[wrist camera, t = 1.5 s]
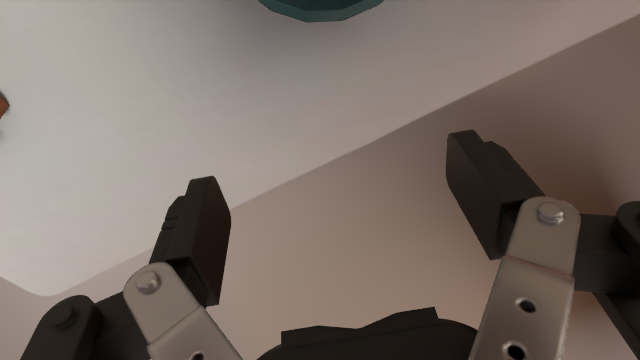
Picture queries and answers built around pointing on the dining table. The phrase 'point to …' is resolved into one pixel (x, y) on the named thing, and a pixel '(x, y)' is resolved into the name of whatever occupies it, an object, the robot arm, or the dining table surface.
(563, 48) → the dining table surface
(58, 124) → the dining table surface
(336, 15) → the green cooking pot
